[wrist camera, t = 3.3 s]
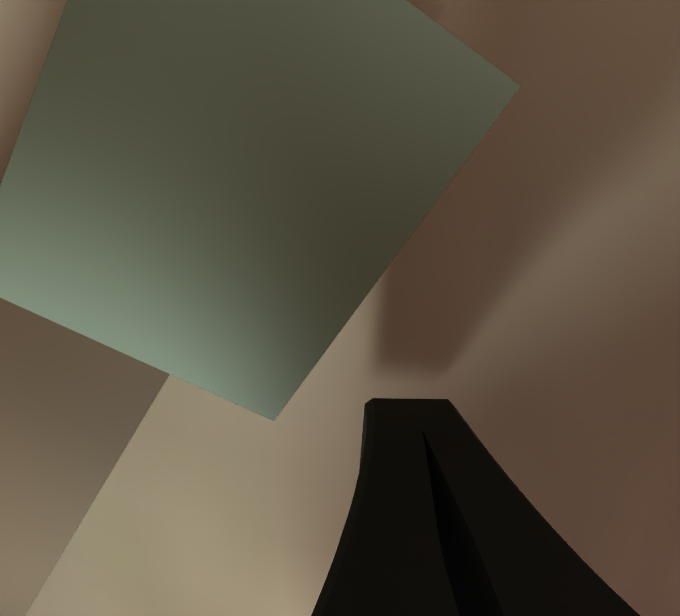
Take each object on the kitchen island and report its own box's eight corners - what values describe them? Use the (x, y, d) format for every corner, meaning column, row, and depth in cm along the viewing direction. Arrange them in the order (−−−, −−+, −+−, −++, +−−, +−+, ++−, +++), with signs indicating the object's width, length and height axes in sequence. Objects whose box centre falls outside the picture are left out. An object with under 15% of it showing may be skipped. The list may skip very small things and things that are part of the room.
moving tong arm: (16, 692, 15) (-62, 875, 12) (-118, 657, 14) (-240, 846, 11) (440, 43, 8) (520, 85, 5) (220, -119, 7) (140, -199, 4)
